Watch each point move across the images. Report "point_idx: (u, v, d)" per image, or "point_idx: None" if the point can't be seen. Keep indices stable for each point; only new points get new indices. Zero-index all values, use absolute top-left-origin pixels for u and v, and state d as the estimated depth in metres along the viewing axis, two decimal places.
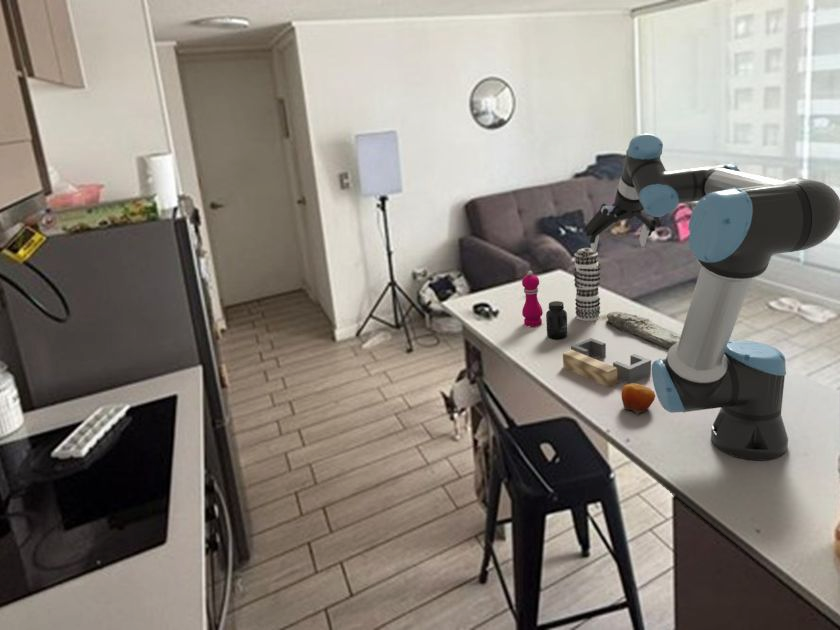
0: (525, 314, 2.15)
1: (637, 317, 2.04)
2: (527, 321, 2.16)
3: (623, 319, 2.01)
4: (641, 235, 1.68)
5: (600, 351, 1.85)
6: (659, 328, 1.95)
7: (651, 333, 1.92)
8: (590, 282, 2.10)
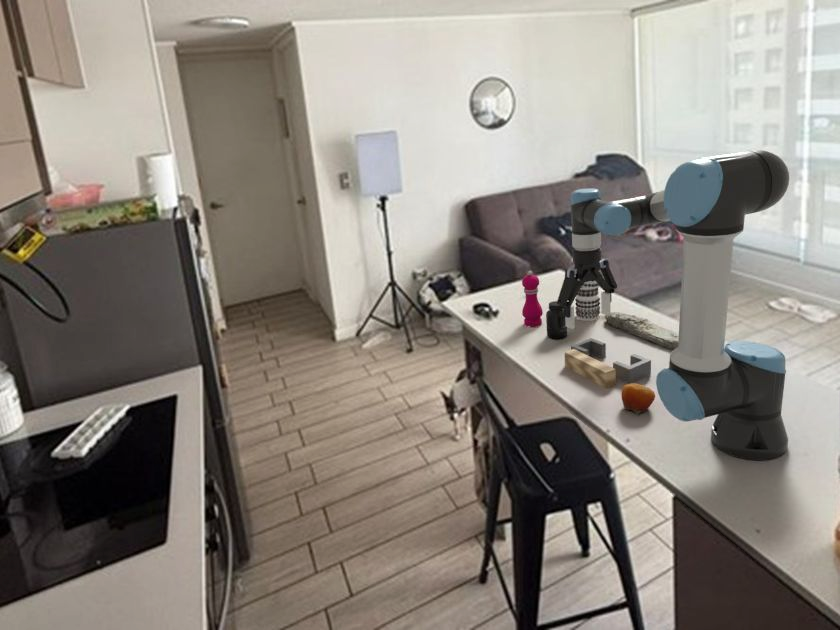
0: (525, 314, 2.15)
1: (636, 317, 2.04)
2: (527, 321, 2.16)
3: (622, 319, 2.01)
4: (603, 305, 1.73)
5: (600, 351, 1.85)
6: (659, 328, 1.95)
7: (651, 333, 1.92)
8: (590, 282, 2.10)
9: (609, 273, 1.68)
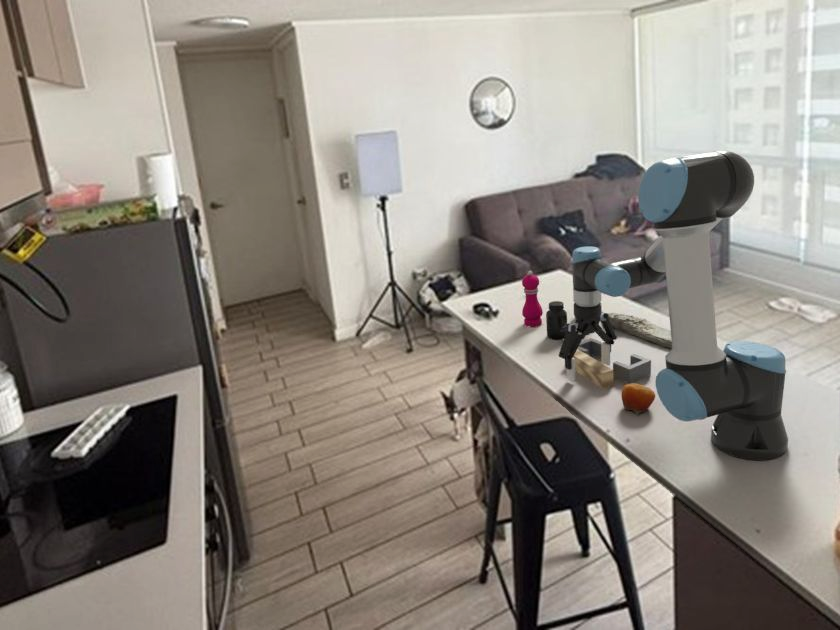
0: (525, 314, 2.15)
1: (634, 318, 2.04)
2: (527, 321, 2.16)
3: (621, 320, 2.01)
4: (603, 355, 1.78)
5: (600, 351, 1.85)
6: (658, 328, 1.95)
7: (651, 333, 1.92)
8: None
9: (609, 325, 1.73)
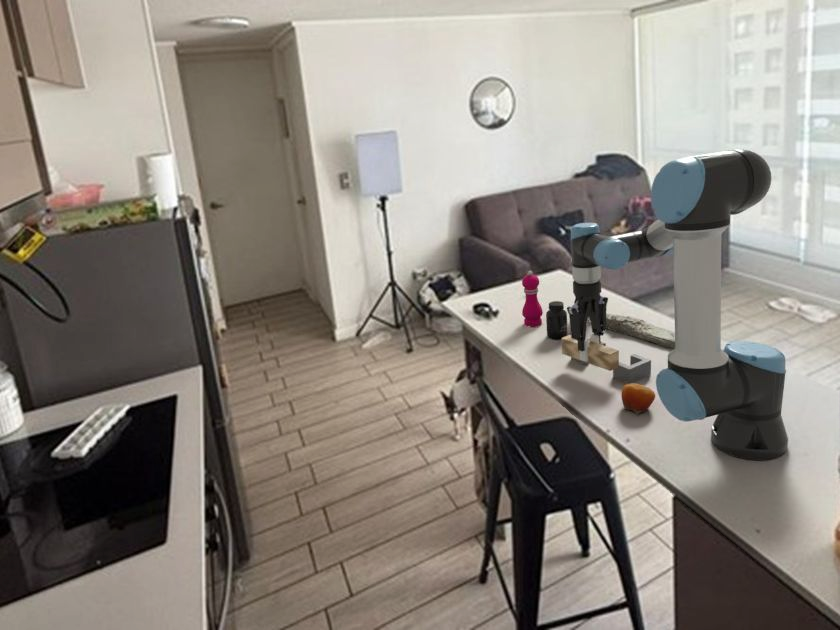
0: (525, 314, 2.15)
1: (631, 318, 2.04)
2: (527, 321, 2.16)
3: (619, 321, 2.00)
4: None
5: None
6: (657, 328, 1.95)
7: (651, 334, 1.91)
8: None
9: (604, 312, 1.71)
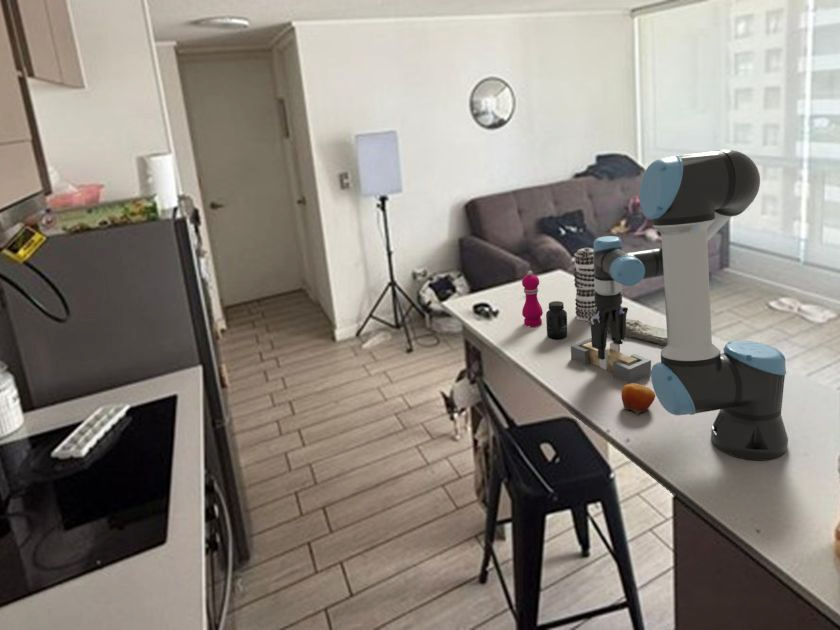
0: (525, 314, 2.15)
1: (627, 320, 2.03)
2: (527, 321, 2.16)
3: None
4: None
5: None
6: (655, 328, 1.95)
7: (652, 334, 1.91)
8: (590, 282, 2.10)
9: (624, 321, 1.76)
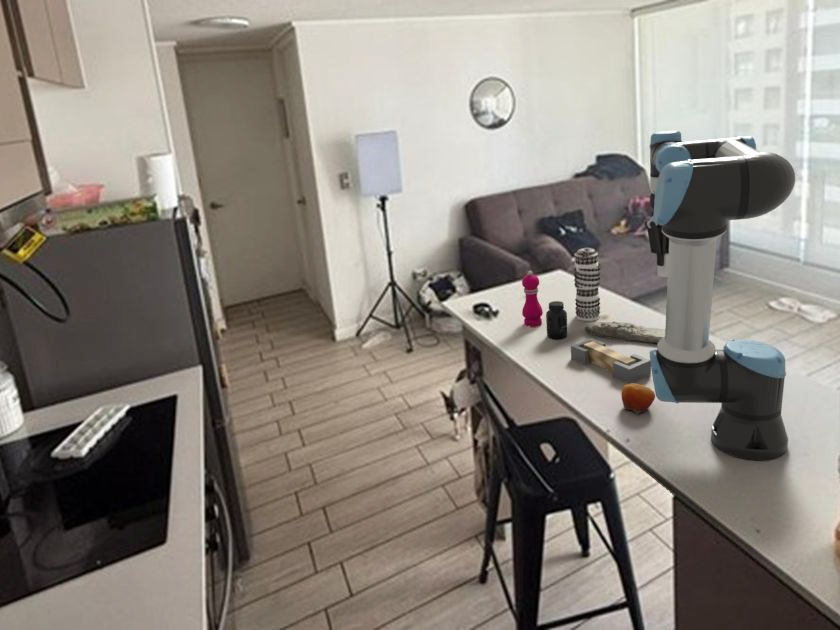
0: (525, 314, 2.15)
1: (619, 323, 2.01)
2: (527, 321, 2.16)
3: (615, 327, 1.96)
4: None
5: None
6: (651, 329, 1.95)
7: (653, 335, 1.90)
8: (590, 282, 2.10)
9: None
